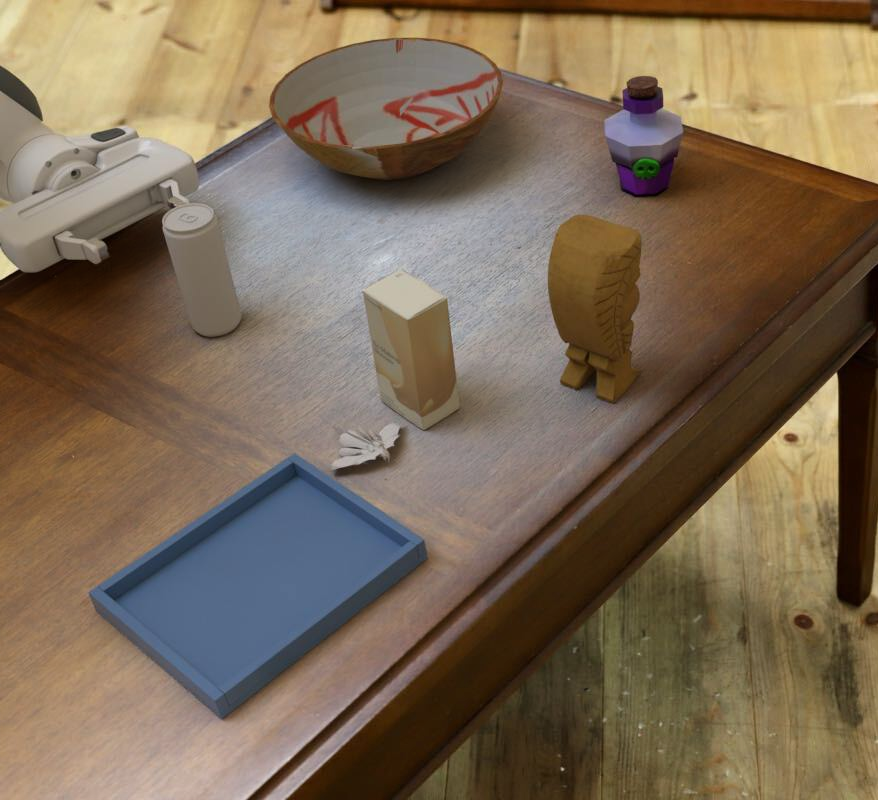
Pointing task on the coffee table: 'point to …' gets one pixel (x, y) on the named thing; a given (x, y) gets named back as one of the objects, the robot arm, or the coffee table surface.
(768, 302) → the coffee table surface
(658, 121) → the potion bottle
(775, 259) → the coffee table surface
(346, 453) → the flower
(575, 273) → the figurine
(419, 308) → the cosmetic box
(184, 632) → the tray
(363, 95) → the bowl
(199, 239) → the beverage can
